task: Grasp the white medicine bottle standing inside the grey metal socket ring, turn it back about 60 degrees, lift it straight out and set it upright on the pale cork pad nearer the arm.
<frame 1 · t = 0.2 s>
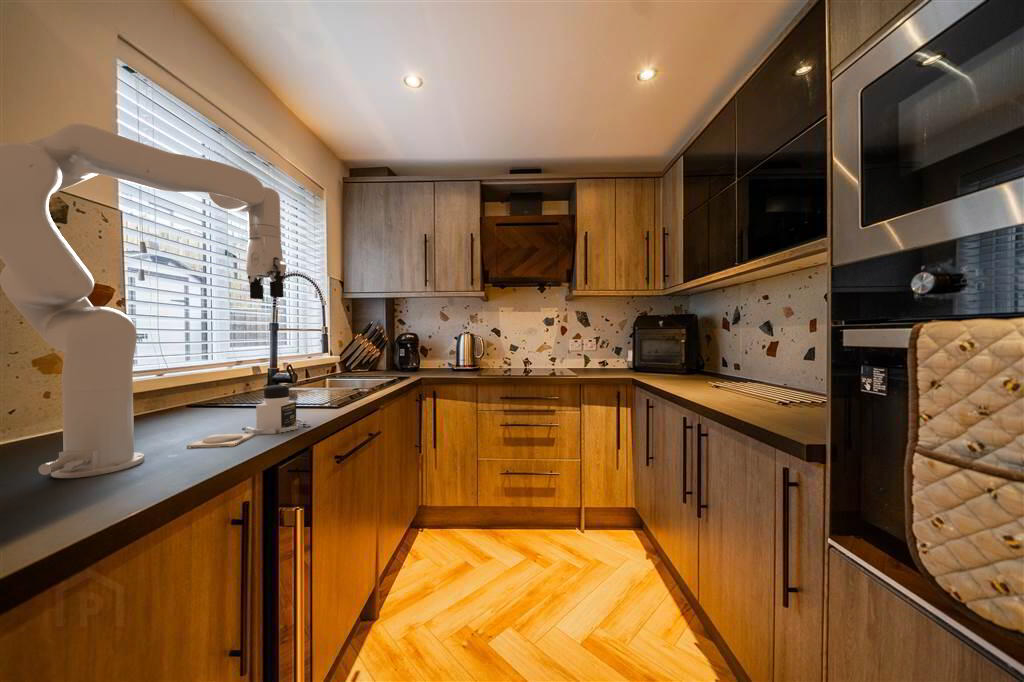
hand: (266, 298, 106), 36 cm above the table, tool pointing down, fingers open, 9 cm apart
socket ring: (277, 427, 109), on the table
cork pad: (223, 441, 96), on the table
medicine bottle: (277, 428, 109), on the table
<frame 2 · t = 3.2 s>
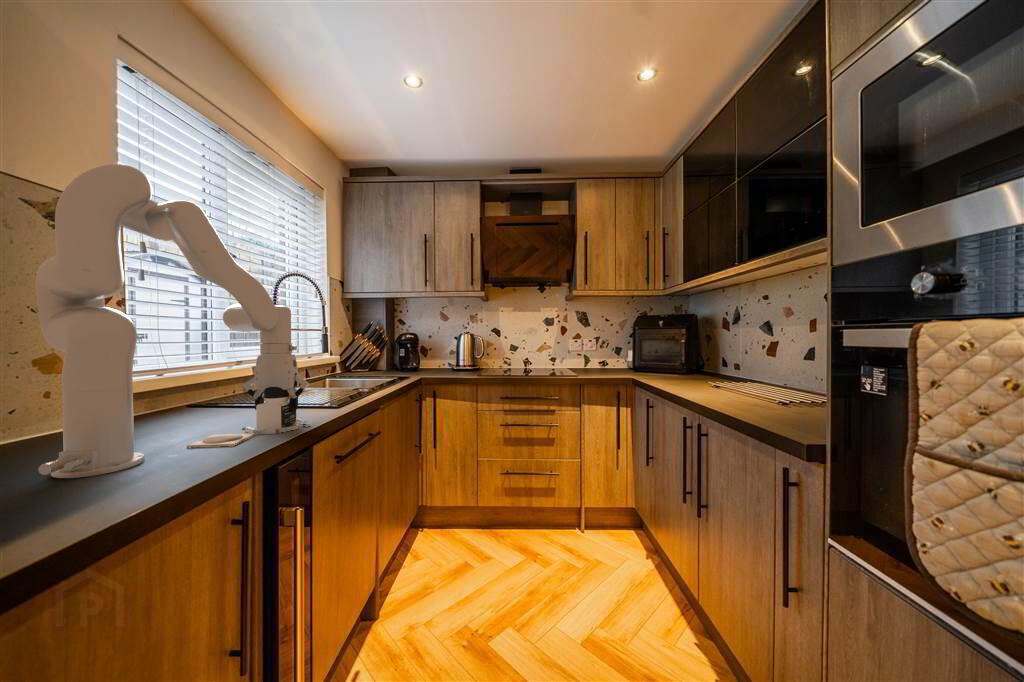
hand: (276, 411, 109), 4 cm above the table, tool pointing down, fingers closed on medicine bottle, 7 cm apart
medicine bottle: (277, 428, 109), on the table, touching gripper
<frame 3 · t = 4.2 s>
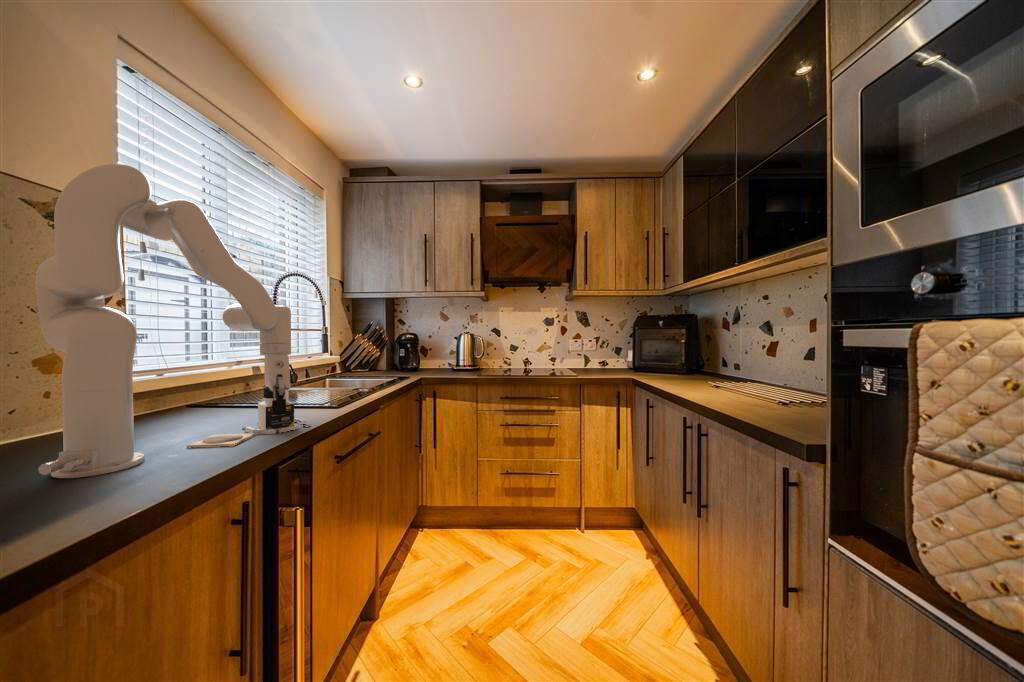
hand: (276, 412, 109), 4 cm above the table, tool pointing down, fingers closed on medicine bottle, 7 cm apart
medicine bottle: (276, 428, 109), on the table, touching gripper
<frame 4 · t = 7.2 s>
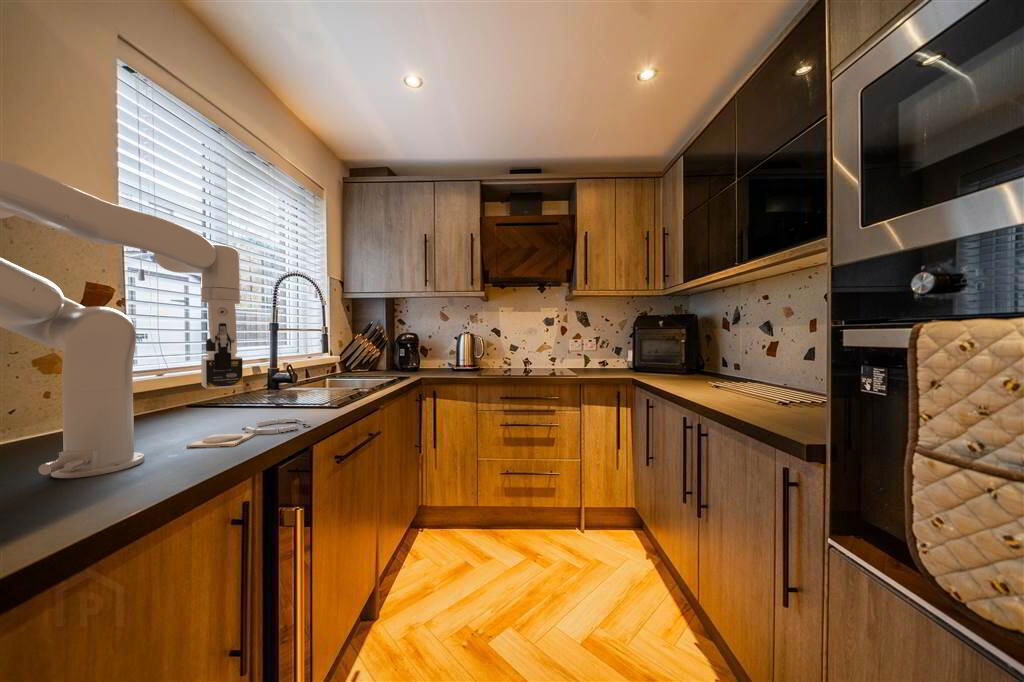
hand: (222, 368, 95), 18 cm above the table, tool pointing down, fingers closed on medicine bottle, 7 cm apart
medicine bottle: (222, 387, 95), point 13 cm above the table, touching gripper
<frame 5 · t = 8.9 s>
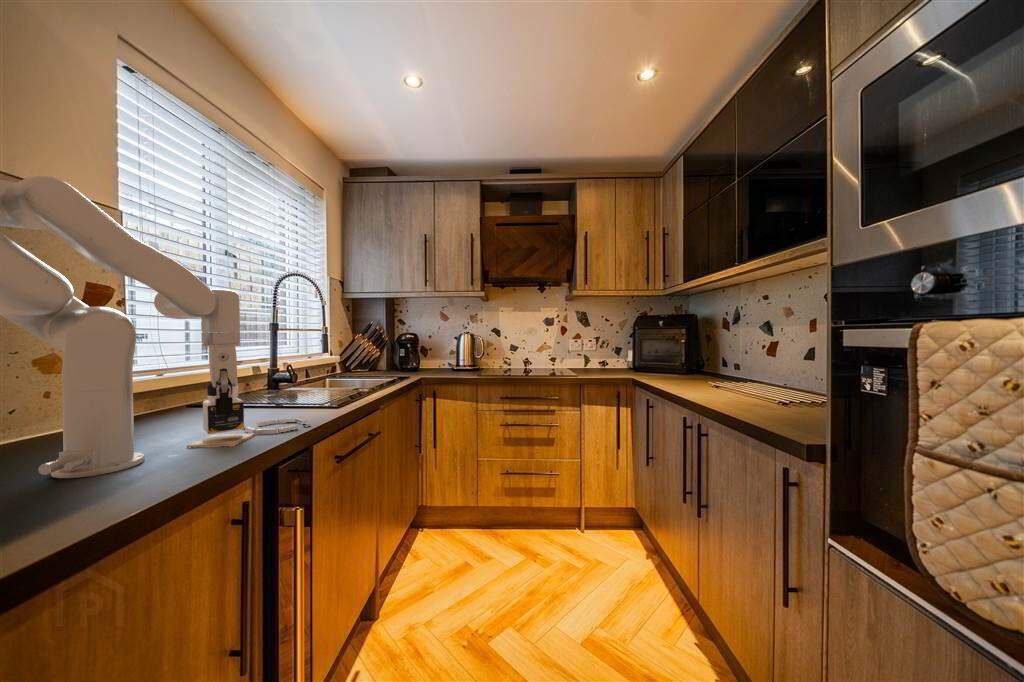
hand: (223, 411, 96), 7 cm above the table, tool pointing down, fingers closed on medicine bottle, 7 cm apart
medicine bottle: (223, 430, 96), point 3 cm above the table, touching gripper
when the fingers open (6 cm above the table, at t = 10.2 s): medicine bottle drops 1 cm, resting on cork pad.
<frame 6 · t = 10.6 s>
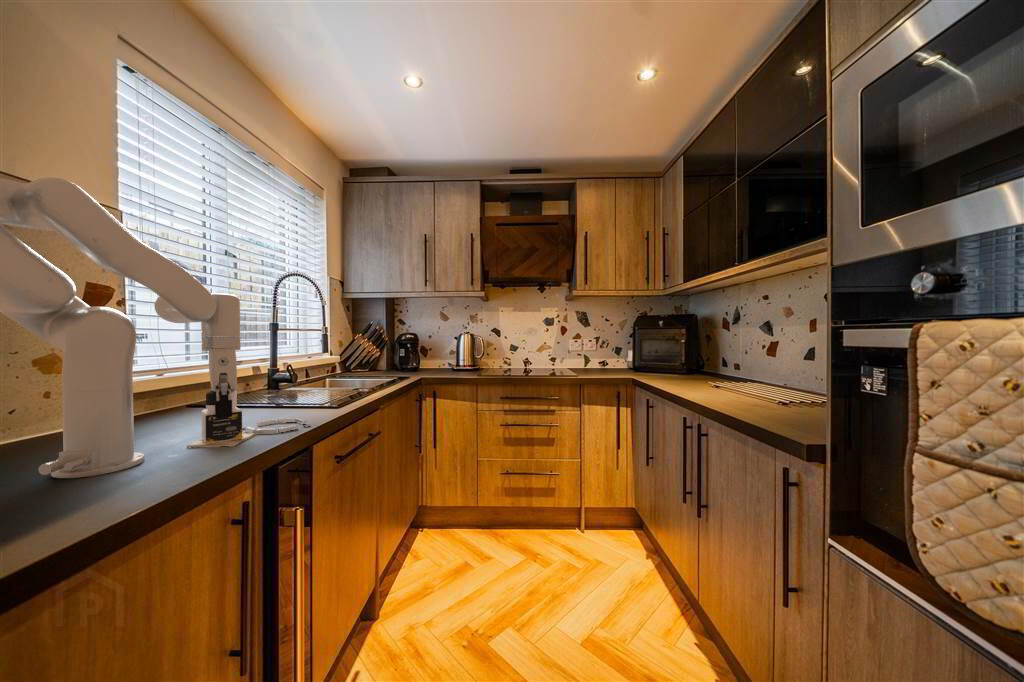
hand: (222, 414, 95), 7 cm above the table, tool pointing down, fingers open, 9 cm apart
medicine bottle: (222, 439, 95), point 1 cm above the table, touching cork pad
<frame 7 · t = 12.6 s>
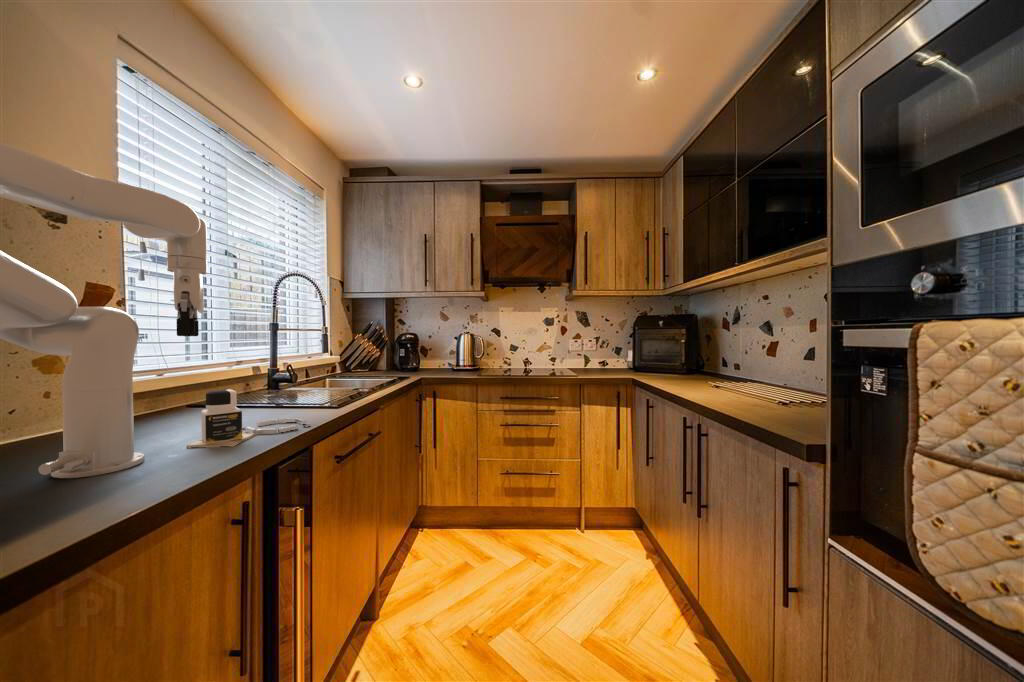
hand: (188, 336, 96), 26 cm above the table, tool pointing down, fingers open, 9 cm apart
nothing on the table moved.
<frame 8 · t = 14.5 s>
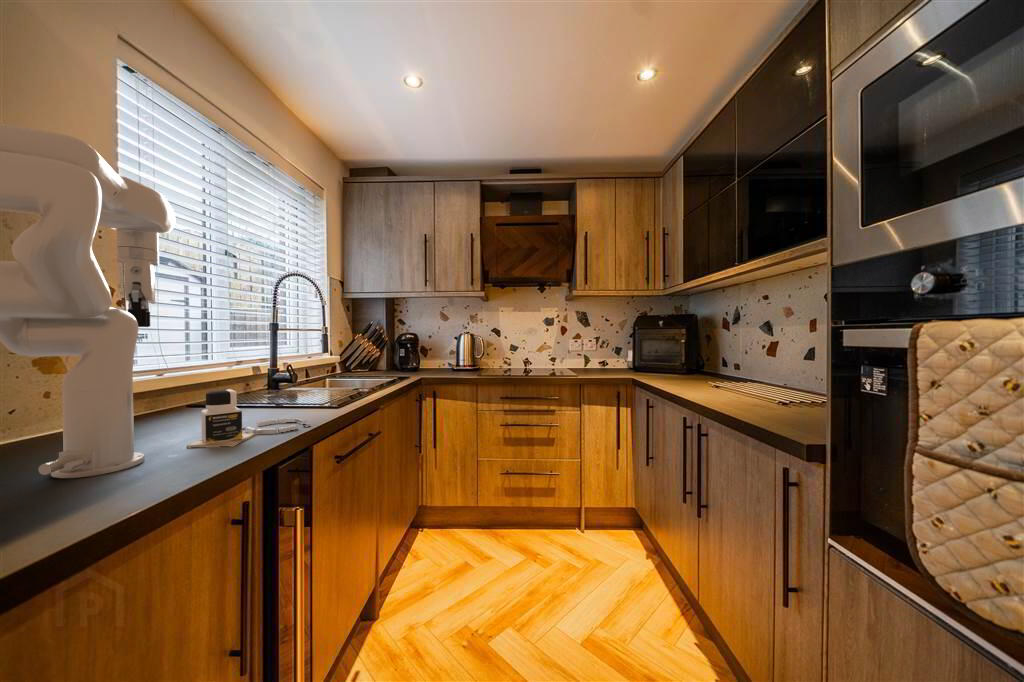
hand: (139, 326, 97), 28 cm above the table, tool pointing down, fingers open, 9 cm apart
nothing on the table moved.
at the end: medicine bottle 0.3 cm from the cork pad (horizontally); medicine bottle tilted 0°; medicine bottle point 0.5 cm above the table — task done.
